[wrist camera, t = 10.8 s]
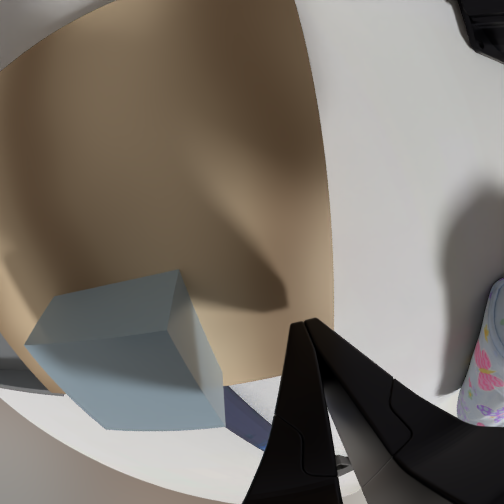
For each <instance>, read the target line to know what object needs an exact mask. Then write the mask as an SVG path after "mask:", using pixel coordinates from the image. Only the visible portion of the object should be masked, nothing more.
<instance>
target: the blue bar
mask: <svg viewBox="0 0 504 504" xmlns="http://www.w3.org/2000/svg"><path fill="white" fill-rule="evenodd" d="M223 390H224V407H225V423H226V428H227V429H229V430H230V431H232V432H233V433H235V434H236V435H238V436H240V437H241V438H243V439H244V440H246V441H247V442H249V443H251V444H252V445H254V446H256V447H257V448H259V449H261V450H262V451H265V448H266V445H267V442H268V438H269V434H270V430H271V426H272V425H271V424H270V423H268V422H267V421H266V420H265V419H264V418H263V417H261V416H260V415H259V414H258V413H257V412H256V411H255V410H253V409H252V408H251V407H250V406H249V405H248V404H247V403H246V402H245V401H243V400H242V399H241V398H240V397H239V396H238V395H237V394H236V393H235V392H234V391H233V390H232V389H231V388H230V387H229V386H223ZM335 458H336V464H337V471H338V477H339V476H342V475H344V474H346V473H348V472H350V471H352V470H354V469H353V467H352V465H351V462H350V460H349V458H348V457H344V456H340V455H337V456H335Z"/></svg>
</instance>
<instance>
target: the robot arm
mask: <svg viewBox="0 0 504 504" xmlns="http://www.w3.org/2000/svg"><path fill="white" fill-rule="evenodd" d="M458 2H459V5H460V8H461V11H462V14H463V17H464V21H465V24H466V28H467V32H468V36H469V40H470V43H471V46H472V48H473V50H474V51H475V52H476V53H478V54H481V55H483V56H486V57H488V58H491V59H493V60H495V61H497V62H500V63H502V64H504V0H458ZM327 408H328V409H327ZM328 410H329V413H330V415H331V417H332V420H333V422H334V424H335V427H336V429H337V431H338V434H339V436H340V439H341V441H342V443H343V446H344V448H345V450H346V453H347V455H348V458H349V460H350V462H351V465H352V467H353V469H354V472H355V474H356V477H357V479H358V481H359V484H360V486H361V488H362V491H363V494H364V496H365V498H366V501H367V503H368V504H504V427H489V426H477V425H473V424H469V423H467V422H464V421H462V420H460V419H458V418H457V417H455V416H453V415H451V414H449V413H448V412H446V411H444V410H442V409H440V408H439V407H437V406H435V405H433V404H431V403H430V402H428V401H426V400H425V399H423V398H422V397H420V396H418V395H417V394H415V393H414V392H412V391H411V390H410V389H408V388H407V387H405V386H404V385H403V384H401V383H400V382H399V381H398V380H396V379H393V377H392V376H391V375H390V374H388V373H387V372H386V371H385V370H383V369H382V368H381V367H379V366H378V365H377V364H376V363H374V362H373V361H372V360H370V359H369V358H368V357H367V356H365V355H364V354H363V353H361V352H360V351H359V350H358V349H356V348H355V347H354V346H352V345H351V344H350V343H349V342H347V341H346V340H345V339H343V338H342V337H341V336H340V335H338V334H337V333H336V332H335V331H333V330H332V329H331V328H329V327H328V326H327V325H326V324H324V323H323V322H322V321H321V320H319V319H318V318H316V317H314V318H311V319H307V320H305V321H304V322H303V321H299V322H295V323H291V324H290V328H289V334H288V341H287V347H286V353H285V359H284V364H283V370H282V376H281V381H280V387H279V392H278V397H277V403H276V408H275V413H274V415H275V416H274V417H273V422H272V426H271V430H270V434H269V438H268V442H267V445H266V448H265V451H264V454H263V457H262V459H261V462H260V464H259V467H258V469H257V472H256V474H255V476H254V479H253V481H252V483H251V486H250V488H249V490H248V492H247V494H246V497H245V499H244V500H243V502H242V504H343V502H342V497H341V491H340V485H339V479H338V471H337V464H336V458H335V451H334V445H333V439H332V433H331V427H330V421H329V415H328Z"/></svg>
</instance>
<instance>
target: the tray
mask: <svg viewBox="0 0 504 504" xmlns="http://www.w3.org/2000/svg"><path fill="white" fill-rule="evenodd" d="M0 388H4V389H10V390H16V391H22V392H29V393H37V394H45V395H56V396H64V394H61V393H51V392H50V391H49V390H48V389H47V388H46V387H45V386H44V385H43V384H42V383H41V382H40V380H39V379H38V378H37V377H36V376H35V375H34V374H33V373H32V372H31V371H30V369H29V368H28V367H27V366H26V365H25V364H24V362H23V361H22V360H21V359H20V358H19V356H18V355H17V354H16V353H15V351H14V350H13V349H12V348H11V346H10V345H9V344H8V342H7V341H6V340H5V338H4V337H3V336H2V334H1V333H0Z"/></svg>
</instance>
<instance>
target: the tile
mask: <svg viewBox="0 0 504 504" xmlns="http://www.w3.org/2000/svg"><path fill="white" fill-rule="evenodd" d="M24 346H25V347H26V349H27V350H28V351H29V353H30V354H31V355H32V356H33V358H34V359H35V360H36V361H37V362H38V364H39V365H40V366H41V367H42V368H43V369H44V370H45V372H46V373H47V374H48V375H49V376H50V377H51V378H52V379H53V380H54V382H55V383H56V384H57V385H58V386H59V387H60V388H61V389H62V390H63V391H64V392H65V393H66V394H67V395H68V396H69V397H70V398H71V399H72V400H73V401H74V402H75V403H76V404H77V405H78V406H79V407H81V408H82V409H83V410H84V411H85V412H86V413H87V414H88V415H89V416H91V417H92V418H93V419H94V420H95V421H96V422H98V423H99V424H100V425H101V426H102V427H104V428H105V429H107V430H123V431H179V430H196V429H208V428H218V427H226V423H225V407H224V390H223V372H222V370H221V368H220V366H219V364H218V362H217V359H216V357H215V355H214V353H213V351H212V348H211V346H210V344H209V342H208V339H207V337H206V335H205V332H204V330H203V328H202V325H201V323H200V321H199V318H198V316H197V314H196V311H195V309H194V306H193V304H192V301H191V299H190V296H189V294H188V291H187V289H186V286H185V284H184V281H183V278H182V276H181V273H180V270H179V269H177V270H173V271H168V272H164V273H159V274H155V275H150V276H145V277H141V278H136V279H132V280H127V281H122V282H118V283H113V284H109V285H104V286H99V287H95V288H90V289H86V290H81V291H76V292H72V293H67V294H63V295H58V296H54V297H53V299H52V300H51V302H50V303H49V305H48V306H47V308H46V309H45V311H44V312H43V314H42V316H41V317H40V319H39V320H38V322H37V324H36V325H35V327H34V329H33V330H32V332H31V334H30V335H29V337H28V339H27V341H26V342H25V344H24Z"/></svg>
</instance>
